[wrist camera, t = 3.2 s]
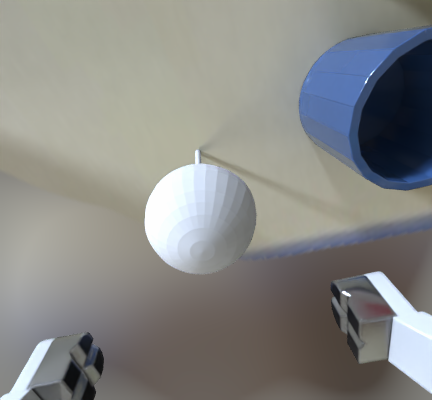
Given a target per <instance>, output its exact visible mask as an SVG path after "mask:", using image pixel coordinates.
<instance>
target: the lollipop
mask: <svg viewBox="0 0 432 400" xmlns="http://www.w3.org/2000/svg"><path fill="white" fill-rule="evenodd" d="M195 154H196V164H192V165H187V166H183V167H181V168H179V169H177V170H174V171H172V172H171V173H170V174H168V175H167V176H165V177H164V178H163V179H162V180H161V181H160V182H159V183H158V184H157V186H156V187H155V189H154V191H153V192H152V194H151V196H150V197H149V200H148V203H147V206H146V214H145V230H146V234H147V237H148V239H149V242H150V243H151V245H152V247H153V248H154V250H155V251H156V253H157V254H158V255H159V256H160V257H161V258H162V259H163V260H164V261H165V262H166V263H167V264H169V265H170V266H172V267H174V268H176V269H178V270H181V271H183V272H188V273H191V274H209V273H214V272H217V271H220V270H222V269H224V268H226V267H228V266H230V265H231V264H233V263H234V262H235V261H237V260H238V259H239V258H240V257H241V256H242V254H243V253H244V252H245V250H246V249H247V247H248V246H249V244H250V242H251V240H252V237H253V233H254V230H255V226H256V208H255V202H254V199H253V196H252V194H251V191H250V190H249V188H248V187H247V185H246V184H245V182H244V181H243V180H242V179H240V178H239V177H238V176H237V175H236V174H234V173H232V172H231V171H229V170H227V169H224V168H221V167H218V166H214V165H208V164H201V154H200V150H196V152H195Z"/></svg>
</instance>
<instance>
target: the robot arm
mask: <svg viewBox="0 0 432 400" xmlns="http://www.w3.org/2000/svg"><path fill="white" fill-rule="evenodd" d="M331 291H332V293H333V295H334V297H333V298H332V300H331V303H332V310H333V314H334V317H335V319H336V322H337V324H338V326H339V328H340V330H341V331H343V332H344V333H346V334H347V338H348V339H347V343H348V345H349V347H350V349H351V350H352V352H353V354H354V356H355V358H356V360H357V362H358V363H359V364H361V363H368V362H374V361H380V360H386V359H388V361H389V362H391V363H392V364H393V365H395V366H396V367H397V368H398V369H400V370H401V371H402V372H404V373H405V374H406V375H408V376H409V377H410V378H411V379H413V380H414V381H415V382H417V383H418V384H419V385H421V386H422V387H423V388H424V389H426V390H427V391H428V392H430V393H431V394H432V315H430V314H427V313H426V312H417V311H416V310H415V308H414V307H413V306H412V305H411V304H410V303H409V302H408V301H407V299H406V298H405V297H404V296H403V295H402V294H401V293H400V292H399V290H398V289H397V288H396V287H395V286H394V285H393V284H392V283H391V282H390V281H389V279H388V278H387V277H386V276H385V275H384V274H383V273H382V272H380V271H378V272H373V273H368V274H364V275H358V276H354V277H349V278H345V279H340V280H336V281H332V282H331ZM92 341H93V338H92V336H91V335H90V333H80V334H74V335H69V336H63V337H58V338H53V339H47V340H43V341H41V342H40V343H39V344H38V345H37V347H36V348H35V350H34V352H33V354H32V355H31V357H30V359H29V360H28V362H27V364H26V366H25V368H24V369H23V371H22V373H21V374H20V376H19V378H18V380H17V381H16V383H15V385H14V387H13V388H12V390H11V392H10V393H8V394H5V395H4V396H3V397H1V398H0V400H94V397H95V394H96V391H95V388H94V385H95V384H96V382H97V381H98V380H99V379H100V377H101V374H102V371H103V363H104V358H103V354H102V351H101V350H100V348H99V347H98V346H95V345H94V344H92Z"/></svg>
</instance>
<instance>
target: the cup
mask: <svg viewBox="0 0 432 400" xmlns="http://www.w3.org/2000/svg"><path fill="white" fill-rule="evenodd" d="M299 114H300V119H301V123H302V126H303V128H304V130H305V132H306V134H307V135H308V136H309V138H310V139H311V140H312V141H313V142H314V143H315V144H316V145H318V146H319V147H320V148H322V149H323V150H325V151H326V152H328V153H329V154H331V155H332V156H333V157H335V158H336V159H338V160H339V161H341V162H342V163H344V164H345V165H346V166H348V167H349V168H351V169H352V170H354V171H355V172H357V173H358V174H360V175H361V176H362V177H364V178H365V179H367V180H369V181H371V182H373V183H374V184H376V185H378V186H380V187H382V188H385V189H395V190H405V191H406V190H411V189H416V188H420V187H425V186H429V185H432V25H427V26H420V27H413V28H407V29H400V30H393V31H386V32H380V33H373V34H367V35H362V36H358V37H353V38H350V39H347V40H344V41H342V42H340V43H338V44H336V45H335V46H333V47H332V48H330V49H329V50H328V51H326V52H325V53H324V54H323V55H322V56H321V57H320V58H319V59H318V60H317V62H316V63H315V64H314V65H313V67H312V68H311V70H310V71H309V73H308V75H307V77H306V79H305V81H304V84H303V86H302V90H301V94H300V100H299Z"/></svg>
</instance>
